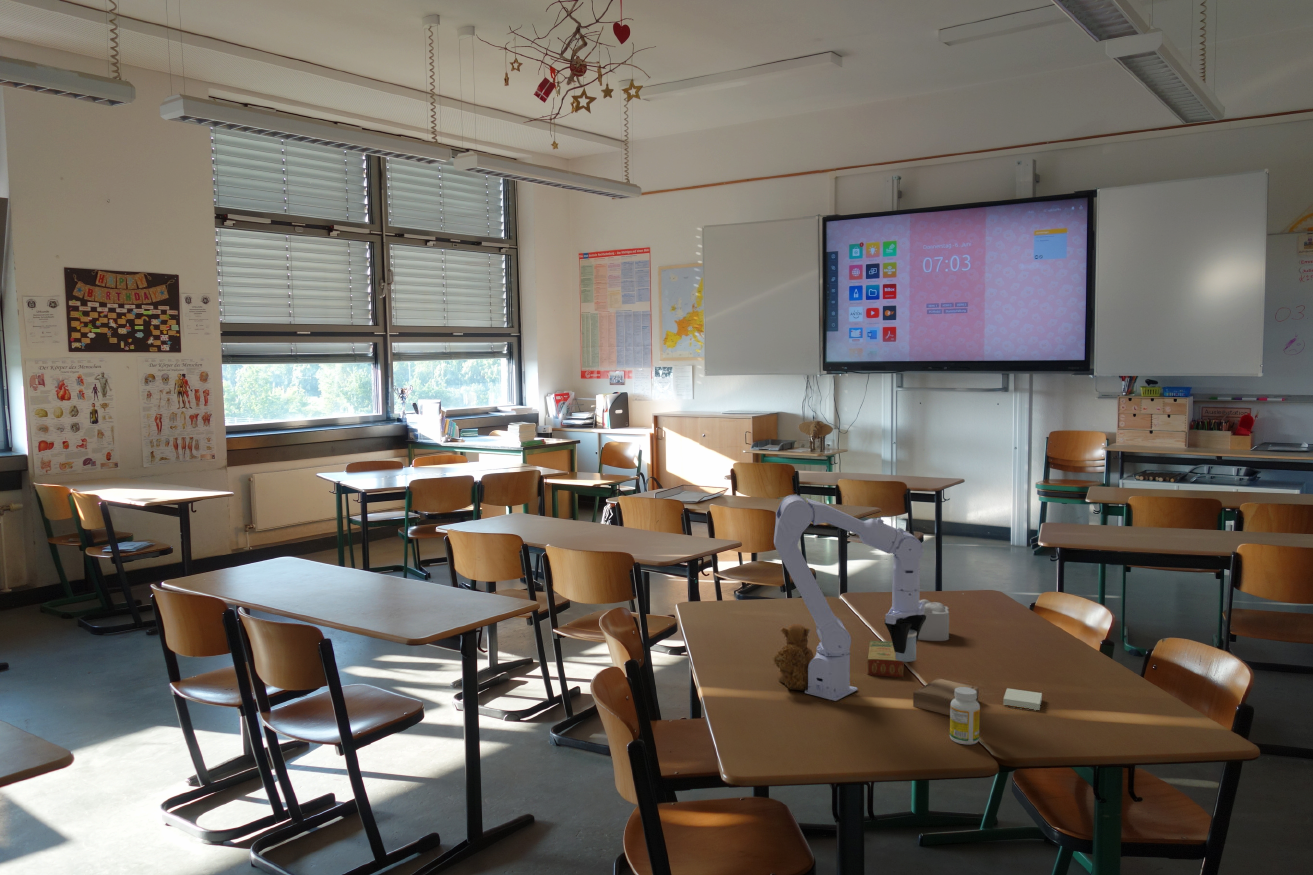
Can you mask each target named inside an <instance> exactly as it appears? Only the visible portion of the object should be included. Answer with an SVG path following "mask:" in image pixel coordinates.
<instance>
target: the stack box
mask: <svg viewBox="0 0 1313 875" xmlns="http://www.w3.org/2000/svg"><path fill="white" fill-rule="evenodd" d="M958 687H968V688H972V689H974V690H976V692H977V698H976V701H977V702H979V693H980V691H979V689H980V688H979V686H975V685H972V684H966V683H962V682H960V681H959V682H958V681H953V680H950V679H949V680H948V679H946V678H945V679H944V678H941V677H938V678H936V679H934V680H932V681H931V682H929V683H927V684H925V685H924V686H922V687H920V688H918V689H917V690H915V691H913V694H912V695H913V696H912V699H913V700H912V706H913V707H914V708H919V709H922V710H923V709H924V710H926V711H931V712H935V713H938V714H943V715H947V716H950V705H951V701H952V700H953V699H955V696H954V693H955V688H958Z"/></svg>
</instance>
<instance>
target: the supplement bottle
mask: <svg viewBox="0 0 1313 875" xmlns="http://www.w3.org/2000/svg"><path fill="white" fill-rule="evenodd" d="M954 696H955V699H953V700H952V701H951V705H950V715H949V717H950V718H949V738H950V739H951V741H952V742H955V743H956V744H960V745H966V746H967V745H968V746H969V745H975V744H977V743H979V741H980V724H981V723H980V718H981V717H980V716H981V714H980V713H981V706H980V703H979V701H976V698H977V692H976V690H974V689H972V688H968V687H958V688H955V693H954Z"/></svg>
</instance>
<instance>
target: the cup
mask: <svg viewBox="0 0 1313 875" xmlns="http://www.w3.org/2000/svg"><path fill="white" fill-rule="evenodd" d="M916 635H917V631H915V630H912V629H910V630H909V632H908V636H907V642H906V649H905V653H903V654H902V653H898V652H895V658H896V659H897V660H899V661H904V663H905V662H907V663H908V662H914V661H916V660H917V644H916Z"/></svg>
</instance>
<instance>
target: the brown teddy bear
mask: <svg viewBox="0 0 1313 875" xmlns="http://www.w3.org/2000/svg"><path fill="white" fill-rule="evenodd" d="M780 632H781V634H783V638H785V640H786V645H783V646H782V648H781V649H780V650H779V651H777V653H776V654H775V655H774V657H772V660H773V662H774V663H772V665H775V666H776V668H779V671H778V673H777V674H778V681H779V682H780V683H783V684H784V686H786V687H787V688H788V689H790V690H791V691H792V690H794V691H802V692H803V691H804V692H805V690H807V689H808V666H809V663H810V661H811V660H812V659H813V658H814V657H815V655H814V653H813V650H812V649H811V647H810V646H809V644H808V642H809V640H808V638H810V636H809V634H810V632H811V628H810V627H805V626H804V625H802V624H800V623H794V624H791V625H789V626H788V627H781V628H780Z"/></svg>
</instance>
